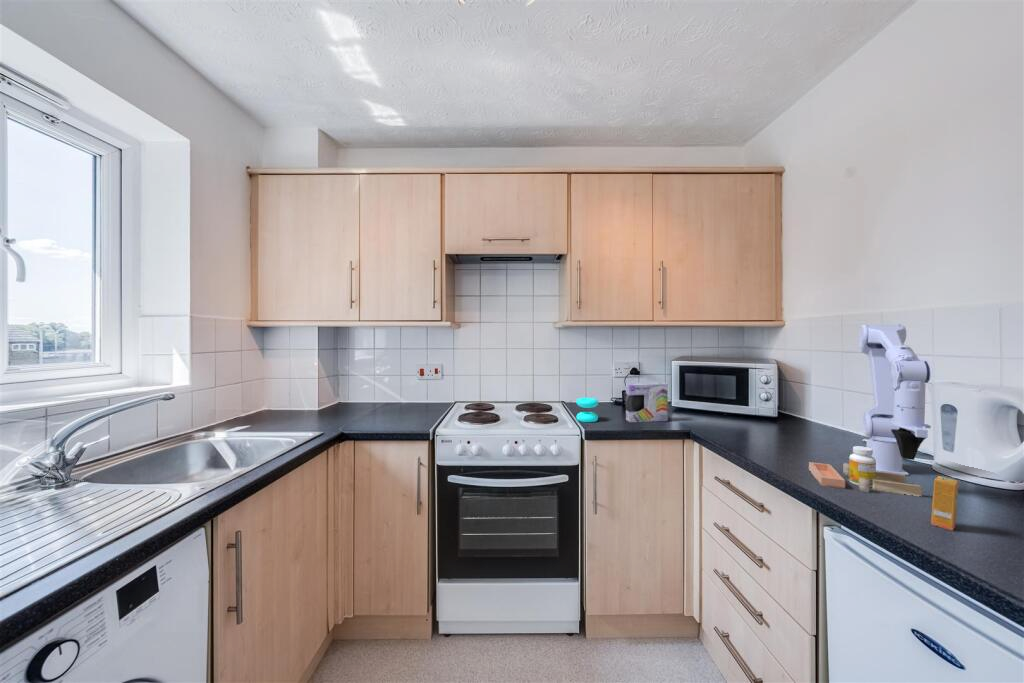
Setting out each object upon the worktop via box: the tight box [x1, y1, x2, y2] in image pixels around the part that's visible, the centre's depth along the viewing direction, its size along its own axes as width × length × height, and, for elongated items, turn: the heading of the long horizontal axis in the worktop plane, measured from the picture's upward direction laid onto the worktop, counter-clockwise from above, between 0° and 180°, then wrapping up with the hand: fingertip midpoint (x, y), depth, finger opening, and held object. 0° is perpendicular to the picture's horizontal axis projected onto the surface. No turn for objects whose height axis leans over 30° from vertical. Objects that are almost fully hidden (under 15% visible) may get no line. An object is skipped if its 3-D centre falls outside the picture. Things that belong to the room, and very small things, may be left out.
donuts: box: [576, 397, 599, 423], centre depth 183 cm, size 10×10×10 cm
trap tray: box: [808, 461, 846, 490], centre depth 111 cm, size 14×5×2 cm, turn 154°
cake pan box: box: [624, 382, 669, 423], centre depth 182 cm, size 19×5×18 cm, turn 92°
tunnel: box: [842, 462, 923, 497], centre depth 106 cm, size 15×12×3 cm
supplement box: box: [930, 475, 959, 531], centre depth 83 cm, size 3×3×10 cm
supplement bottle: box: [848, 445, 876, 488], centre depth 107 cm, size 5×5×10 cm
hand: (907, 458), depth 103 cm, fingers closed
